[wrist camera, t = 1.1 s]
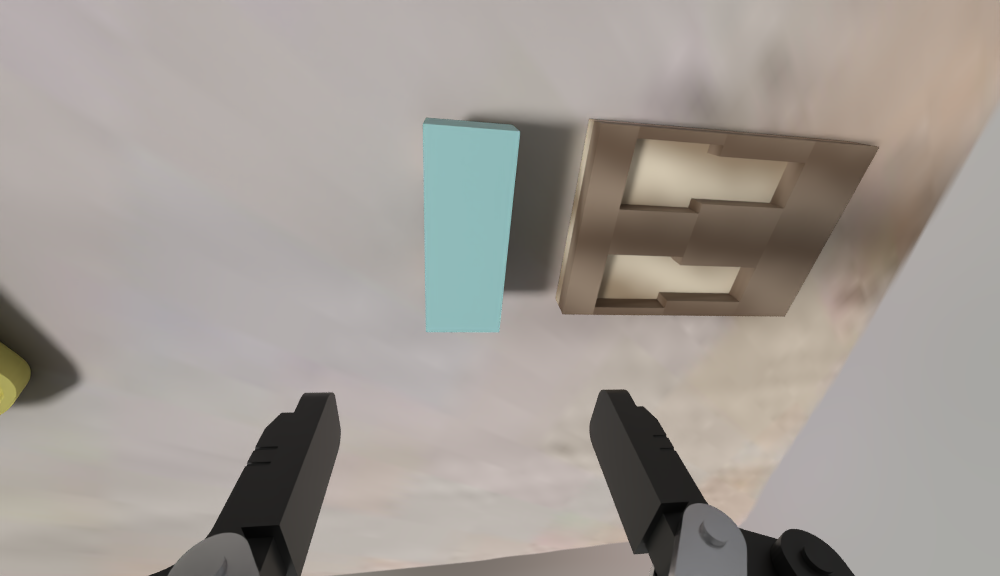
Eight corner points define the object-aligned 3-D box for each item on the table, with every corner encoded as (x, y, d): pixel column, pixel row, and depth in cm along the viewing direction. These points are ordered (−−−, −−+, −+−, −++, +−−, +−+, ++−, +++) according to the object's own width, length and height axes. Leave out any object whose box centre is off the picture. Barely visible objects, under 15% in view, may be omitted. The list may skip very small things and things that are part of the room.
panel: (428, 113, 23) (422, 123, 19) (506, 120, 24) (520, 131, 19) (430, 290, 30) (425, 332, 25) (491, 292, 30) (499, 332, 26)
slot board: (589, 118, 25) (601, 123, 23) (847, 141, 27) (879, 146, 25) (555, 298, 31) (562, 314, 29) (764, 301, 34) (784, 316, 32)
